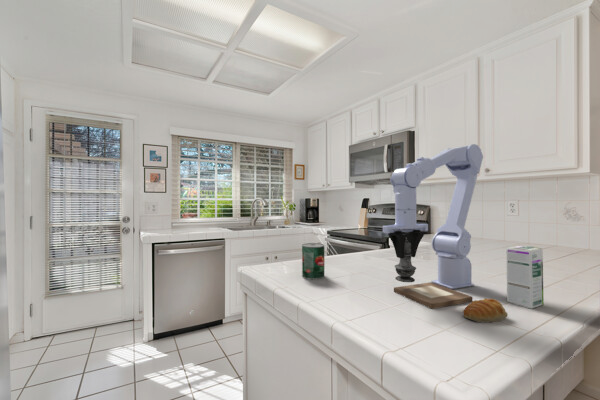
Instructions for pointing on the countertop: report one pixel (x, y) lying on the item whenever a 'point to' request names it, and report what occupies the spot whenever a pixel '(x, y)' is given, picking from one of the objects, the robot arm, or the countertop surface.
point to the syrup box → (525, 276)
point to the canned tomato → (313, 261)
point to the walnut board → (433, 295)
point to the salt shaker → (405, 265)
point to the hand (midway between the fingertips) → (405, 257)
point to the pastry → (485, 311)
